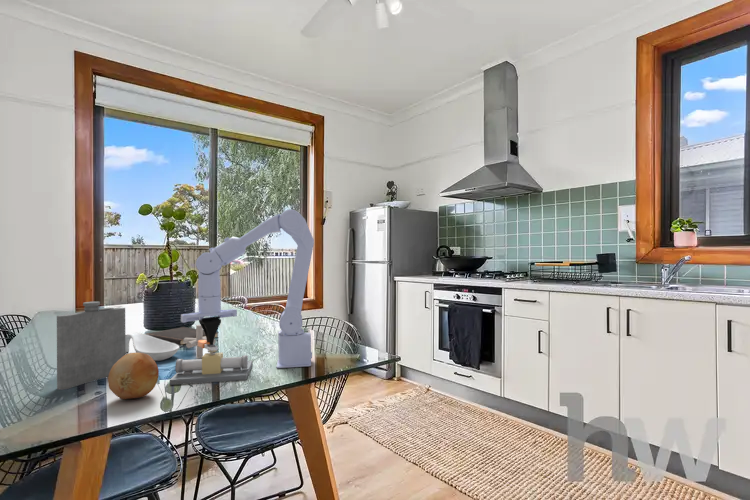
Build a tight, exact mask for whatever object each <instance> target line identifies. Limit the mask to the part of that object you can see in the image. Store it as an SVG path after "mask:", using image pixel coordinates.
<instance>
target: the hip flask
mask: <svg viewBox="0 0 750 500" xmlns="http://www.w3.org/2000/svg"><path fill="white" fill-rule="evenodd" d="M99 306H101V301H85V302H83V303H82V307H84V308H83V310H84V311H79V312H71V313H65V314H59V315H58V314H57V315H56V389H57V390H59V391H60V390H61V391H62V390H69V389H71V388H74V387H77V386H81V385H84V383H85V384H87V383H91V381H92V382H95V381H99V380H102V378H103V379H106V377H107V378H108V376H109V373H110V370H111V368H112V367H113V365H114V364H115V363H116V362H117V361H118V360H119V359H120V358H122V357H123V356H124V355H126V354H127V353H126V346H125V335H126V307H102V308H101V307H99ZM98 379H99V380H98ZM94 380H95V381H94Z"/></svg>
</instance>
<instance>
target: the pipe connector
mask: <svg viewBox="0 0 750 500" xmlns="http://www.w3.org/2000/svg"><path fill="white" fill-rule="evenodd" d="M195 329H196V338H184V340H183V343H185V344H184V345H186V348H188V349H190V348H193V347H196V348H195V349H196V358H195V359H202V357H203V356H204V355H203V354H204V348H201V347H199V346H198V341H199V340H206V341H207V338H206V336H205V337H203V328H202V326H201V325H200V324H196V326H195ZM216 342H217V340H216V339H215V338H214V342H213V345H216Z"/></svg>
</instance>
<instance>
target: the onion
mask: <svg viewBox="0 0 750 500" xmlns="http://www.w3.org/2000/svg"><path fill="white" fill-rule="evenodd" d="M159 371H160V370H159V366H158V364H157V363H156V361H154V360H153V359H152V358H151V357H150V356H149V355H147V354H144V353H136V352H130V353H129V352H127V353H126V355H124V356H123V357H122V358H120V359H119V360H118V361H117V362H116V363H115V364H114V365H113V367H112V368H111V370H110V373H109V376H108V377H107V385H108V388H109V390H110V391H111V392H112V394H113V395H115V396H116V397H117V398H119V399H121V400H130V399H140V398H144V397H146V396H147V395H148V394H150V393H151V392H152V391H153V390H154V389H155V388H156V386H157V382H158V379H159V375H160V374H159V373H160V372H159Z"/></svg>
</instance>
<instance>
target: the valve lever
mask: <svg viewBox="0 0 750 500" xmlns="http://www.w3.org/2000/svg"><path fill="white" fill-rule="evenodd" d="M198 346H199V347H201V348H203V349H205V350H207V353H210V352H215V353H218V350H219V349H218V345H216V344H214V345H210V343H209V342H208V341H206V340H199V341H198Z"/></svg>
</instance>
